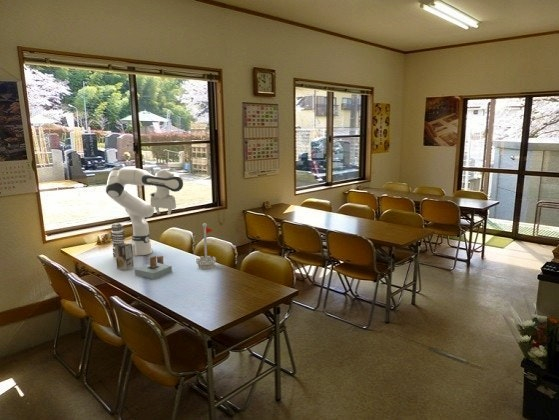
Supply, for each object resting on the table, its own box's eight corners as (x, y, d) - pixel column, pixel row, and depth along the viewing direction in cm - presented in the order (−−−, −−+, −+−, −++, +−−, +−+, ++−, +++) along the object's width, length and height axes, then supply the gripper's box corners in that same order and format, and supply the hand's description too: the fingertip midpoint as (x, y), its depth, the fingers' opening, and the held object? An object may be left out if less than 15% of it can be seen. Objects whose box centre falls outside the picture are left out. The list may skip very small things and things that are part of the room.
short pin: (156, 266, 273) (155, 257, 271) (160, 264, 276) (159, 255, 275) (160, 267, 271) (160, 257, 270) (164, 265, 274) (164, 256, 273)
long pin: (149, 273, 258) (148, 257, 256) (153, 271, 262) (152, 255, 260) (153, 274, 256) (152, 258, 254) (158, 272, 260) (157, 256, 258)
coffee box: (134, 267, 271) (132, 244, 268) (126, 270, 265) (125, 246, 262) (123, 265, 275) (122, 242, 271) (116, 268, 269) (114, 244, 266)
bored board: (135, 275, 256) (134, 269, 255) (153, 267, 270) (153, 262, 269) (153, 279, 248) (153, 273, 248) (172, 271, 262) (171, 265, 261)
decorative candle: (123, 259, 288) (120, 225, 283) (110, 259, 288) (107, 225, 283) (128, 255, 297) (125, 222, 292) (115, 255, 297) (113, 222, 292)
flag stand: (197, 270, 265) (195, 225, 259) (195, 264, 277) (194, 221, 271) (217, 268, 268) (215, 224, 262) (214, 262, 280) (213, 220, 275)
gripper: (177, 194, 270) (178, 214, 273) (155, 192, 280) (156, 212, 282) (171, 196, 265) (172, 216, 267) (148, 193, 274) (149, 213, 277)
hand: (163, 214), depth 275 cm, fingers open, 8 cm apart
